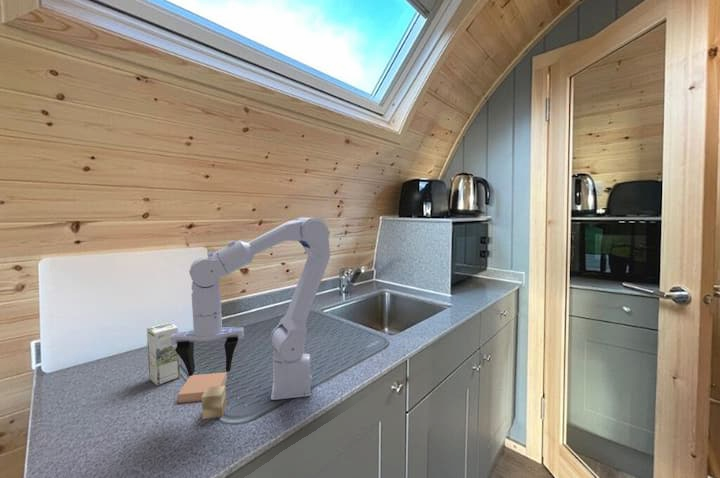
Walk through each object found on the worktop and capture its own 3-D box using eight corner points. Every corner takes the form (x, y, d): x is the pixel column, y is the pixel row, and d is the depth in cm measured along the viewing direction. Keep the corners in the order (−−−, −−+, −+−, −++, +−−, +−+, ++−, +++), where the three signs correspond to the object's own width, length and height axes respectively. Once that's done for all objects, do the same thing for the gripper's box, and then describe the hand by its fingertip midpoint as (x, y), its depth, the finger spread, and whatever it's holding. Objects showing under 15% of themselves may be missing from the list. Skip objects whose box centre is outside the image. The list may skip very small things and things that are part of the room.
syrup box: (172, 371, 92) (169, 321, 90) (181, 378, 88) (178, 326, 86) (149, 379, 87) (145, 327, 86) (157, 387, 83) (154, 332, 82)
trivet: (226, 381, 87) (226, 372, 87) (218, 400, 78) (218, 390, 78) (190, 384, 85) (190, 375, 85) (178, 404, 77) (177, 394, 76)
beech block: (226, 406, 75) (225, 385, 75) (222, 417, 71) (221, 395, 71) (207, 408, 74) (206, 387, 74) (202, 419, 71) (201, 397, 70)
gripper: (244, 304, 77) (246, 359, 78) (177, 309, 73) (180, 366, 75) (240, 314, 70) (242, 374, 71) (165, 319, 67) (169, 382, 68)
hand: (210, 371), depth 72 cm, fingers open, 7 cm apart
